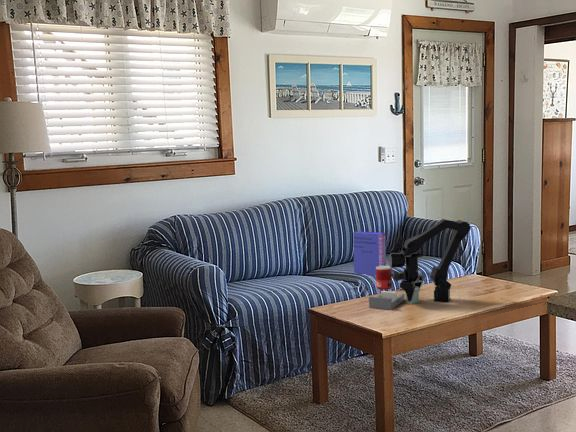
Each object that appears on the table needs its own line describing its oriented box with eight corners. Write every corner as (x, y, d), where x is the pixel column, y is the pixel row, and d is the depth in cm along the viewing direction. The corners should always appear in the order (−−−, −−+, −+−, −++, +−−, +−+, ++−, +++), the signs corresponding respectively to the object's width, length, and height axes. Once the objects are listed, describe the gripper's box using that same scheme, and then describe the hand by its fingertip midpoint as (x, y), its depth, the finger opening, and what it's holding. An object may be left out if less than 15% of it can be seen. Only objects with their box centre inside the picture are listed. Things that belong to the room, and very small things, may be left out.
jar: (420, 301, 305) (420, 286, 304) (416, 304, 299) (416, 289, 299) (408, 300, 308) (407, 285, 307) (403, 303, 302) (403, 288, 302)
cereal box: (386, 274, 365) (385, 232, 362) (382, 276, 361) (381, 233, 358) (358, 272, 374) (357, 231, 371) (354, 273, 370) (353, 232, 367)
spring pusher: (396, 301, 304) (396, 292, 303) (396, 302, 303) (396, 292, 302) (381, 300, 307) (381, 291, 307) (381, 300, 306) (381, 291, 306)
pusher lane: (404, 299, 309) (404, 289, 308) (390, 309, 292) (390, 298, 291) (383, 297, 314) (383, 287, 313) (369, 307, 297) (368, 297, 296)
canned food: (391, 290, 329) (391, 268, 327) (375, 289, 330) (375, 268, 329) (392, 286, 336) (391, 265, 335) (376, 286, 338) (376, 265, 337)
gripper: (401, 261, 314) (402, 293, 315) (388, 269, 297) (389, 302, 299) (424, 263, 308) (424, 295, 310) (412, 270, 292) (412, 304, 294)
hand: (412, 299), depth 304 cm, fingers open, 8 cm apart
